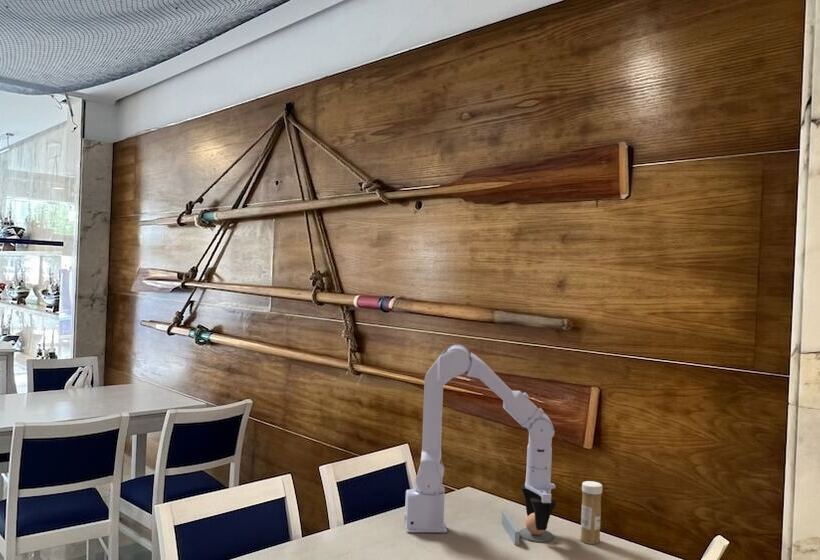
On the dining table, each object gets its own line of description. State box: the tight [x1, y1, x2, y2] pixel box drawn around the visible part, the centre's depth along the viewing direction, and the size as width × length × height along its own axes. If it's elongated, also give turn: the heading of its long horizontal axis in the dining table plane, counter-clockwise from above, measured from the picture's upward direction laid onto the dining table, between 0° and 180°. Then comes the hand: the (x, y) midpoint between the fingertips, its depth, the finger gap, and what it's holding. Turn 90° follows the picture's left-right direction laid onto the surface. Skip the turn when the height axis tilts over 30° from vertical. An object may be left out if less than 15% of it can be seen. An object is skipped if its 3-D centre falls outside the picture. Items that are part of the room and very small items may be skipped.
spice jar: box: [580, 480, 603, 545], centre depth 154 cm, size 5×5×14 cm
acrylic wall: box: [501, 510, 520, 546], centre depth 157 cm, size 1×13×3 cm, turn 5°
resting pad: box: [519, 527, 554, 543], centre depth 156 cm, size 8×8×1 cm
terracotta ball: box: [525, 513, 548, 535], centre depth 156 cm, size 5×5×5 cm
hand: (536, 523), depth 156 cm, fingers open, 7 cm apart
